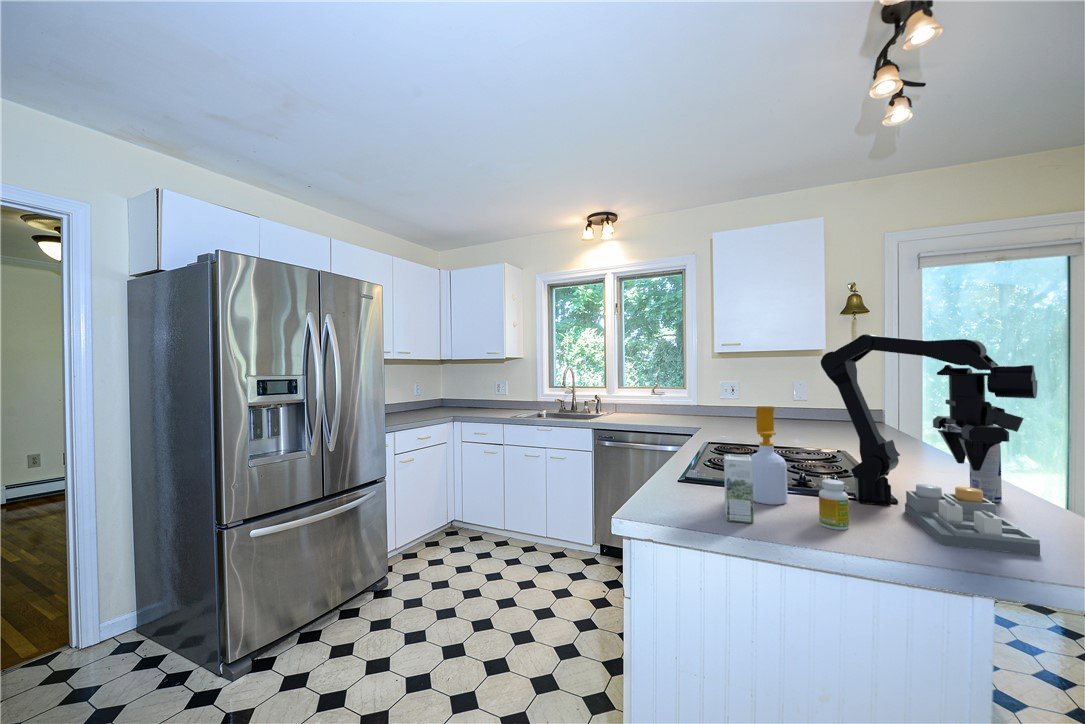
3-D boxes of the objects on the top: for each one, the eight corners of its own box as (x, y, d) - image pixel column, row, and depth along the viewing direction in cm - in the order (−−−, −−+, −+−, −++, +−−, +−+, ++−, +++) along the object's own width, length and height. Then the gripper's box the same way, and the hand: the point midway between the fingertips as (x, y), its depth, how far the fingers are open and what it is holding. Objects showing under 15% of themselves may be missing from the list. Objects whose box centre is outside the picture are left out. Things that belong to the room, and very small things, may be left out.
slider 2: (984, 536, 84) (984, 515, 84) (974, 528, 88) (973, 508, 88) (1002, 537, 83) (1001, 517, 83) (990, 530, 87) (990, 510, 87)
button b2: (960, 506, 96) (960, 491, 96) (951, 500, 100) (951, 486, 100) (987, 508, 95) (987, 493, 95) (977, 502, 99) (976, 487, 99)
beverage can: (1008, 503, 108) (1006, 442, 108) (981, 503, 109) (979, 442, 109) (990, 496, 113) (988, 438, 113) (964, 496, 114) (963, 438, 114)
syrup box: (751, 515, 104) (749, 454, 104) (754, 524, 99) (752, 459, 99) (725, 513, 106) (723, 453, 106) (726, 522, 101) (725, 458, 101)
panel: (942, 544, 86) (941, 518, 86) (905, 511, 105) (904, 490, 104) (1040, 555, 80) (1039, 528, 80) (982, 518, 99) (982, 495, 99)
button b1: (920, 502, 99) (920, 488, 99) (913, 497, 103) (912, 483, 103) (945, 504, 97) (945, 490, 97) (937, 498, 101) (936, 485, 101)
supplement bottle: (841, 532, 93) (840, 486, 93) (814, 524, 98) (813, 480, 98) (853, 526, 96) (852, 482, 96) (827, 519, 101) (826, 476, 101)
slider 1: (947, 523, 91) (946, 504, 91) (938, 516, 95) (938, 498, 95) (962, 524, 90) (962, 505, 90) (953, 517, 94) (953, 499, 94)
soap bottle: (749, 503, 113) (747, 407, 113) (747, 493, 121) (745, 403, 121) (789, 507, 109) (787, 407, 109) (784, 496, 118) (782, 404, 118)
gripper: (1044, 400, 86) (1045, 481, 86) (992, 393, 103) (993, 460, 103) (969, 399, 90) (971, 476, 90) (931, 392, 107) (932, 457, 107)
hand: (968, 466), depth 97 cm, fingers open, 7 cm apart
